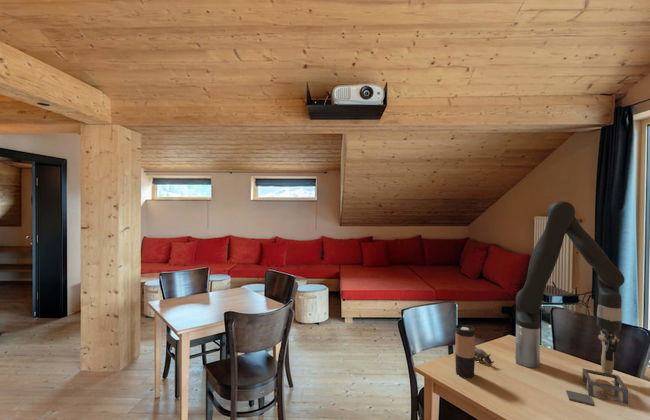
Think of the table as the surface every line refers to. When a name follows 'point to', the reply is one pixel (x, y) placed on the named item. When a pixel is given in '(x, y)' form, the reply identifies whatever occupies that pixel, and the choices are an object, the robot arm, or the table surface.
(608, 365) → the handle
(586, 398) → the rubber mat
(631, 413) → the table surface
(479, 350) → the rhino figurine
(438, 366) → the table surface
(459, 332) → the travel mug
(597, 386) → the button
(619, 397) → the guard frame
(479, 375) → the table surface
